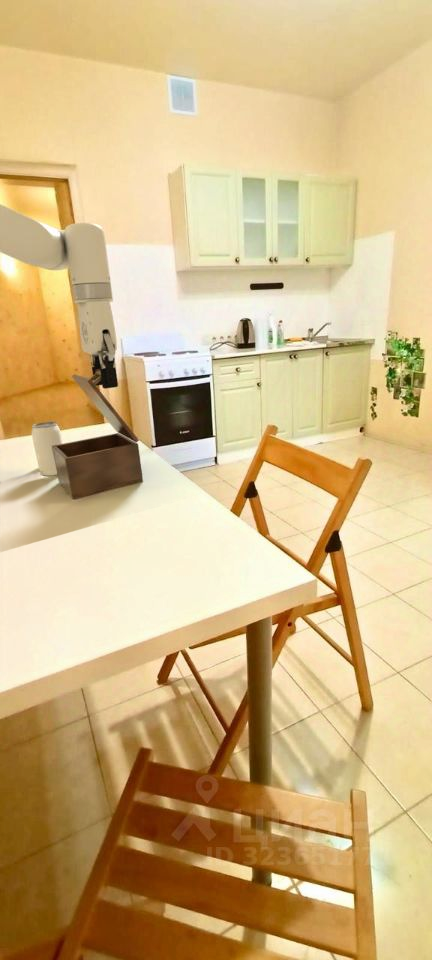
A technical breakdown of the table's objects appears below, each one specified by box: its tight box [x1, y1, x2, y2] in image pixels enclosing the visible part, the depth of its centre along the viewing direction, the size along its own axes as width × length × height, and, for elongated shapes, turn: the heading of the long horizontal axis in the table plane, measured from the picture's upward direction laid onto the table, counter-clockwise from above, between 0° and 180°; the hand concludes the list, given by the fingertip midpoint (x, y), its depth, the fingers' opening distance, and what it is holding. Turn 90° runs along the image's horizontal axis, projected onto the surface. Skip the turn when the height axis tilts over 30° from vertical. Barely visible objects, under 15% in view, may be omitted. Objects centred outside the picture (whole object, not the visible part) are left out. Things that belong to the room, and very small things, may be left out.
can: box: [31, 421, 64, 477], centre depth 108 cm, size 6×6×12 cm
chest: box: [52, 432, 144, 500], centre depth 100 cm, size 16×13×9 cm
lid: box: [71, 369, 140, 443], centre depth 98 cm, size 16×13×5 cm
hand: (106, 385), depth 96 cm, fingers closed on lid, 5 cm apart
